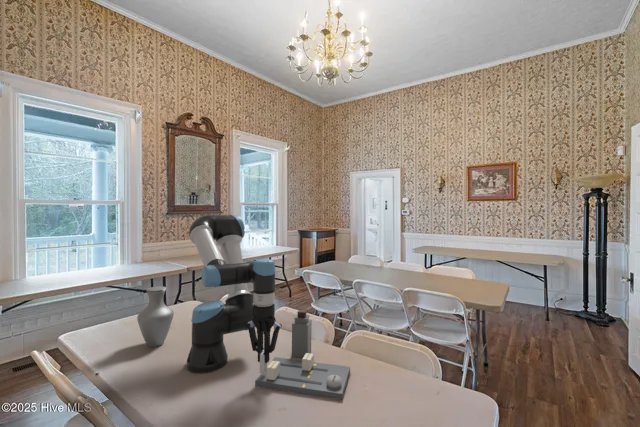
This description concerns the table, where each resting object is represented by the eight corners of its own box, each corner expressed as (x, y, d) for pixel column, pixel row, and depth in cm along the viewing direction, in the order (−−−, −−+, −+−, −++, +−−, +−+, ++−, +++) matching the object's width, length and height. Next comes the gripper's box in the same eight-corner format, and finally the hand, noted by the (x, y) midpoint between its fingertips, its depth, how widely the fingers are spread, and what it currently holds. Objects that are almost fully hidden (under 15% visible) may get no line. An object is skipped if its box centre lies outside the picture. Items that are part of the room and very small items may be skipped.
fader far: (302, 370, 112) (302, 358, 112) (305, 363, 117) (306, 352, 117) (309, 371, 111) (310, 359, 111) (313, 364, 116) (313, 353, 116)
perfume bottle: (307, 358, 126) (308, 314, 126) (291, 356, 128) (292, 312, 128) (311, 351, 133) (311, 309, 133) (296, 349, 134) (296, 308, 134)
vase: (129, 347, 134) (129, 290, 134) (157, 335, 147) (158, 283, 147) (153, 353, 129) (153, 293, 129) (180, 340, 142) (181, 286, 142)
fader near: (266, 379, 105) (266, 366, 105) (272, 371, 110) (272, 360, 110) (274, 380, 105) (274, 368, 105) (280, 372, 110) (280, 361, 110)
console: (255, 386, 105) (255, 374, 105) (275, 362, 122) (275, 351, 122) (342, 400, 98) (342, 387, 98) (350, 372, 115) (350, 361, 115)
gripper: (242, 305, 106) (241, 374, 106) (277, 308, 103) (276, 379, 103) (252, 299, 114) (251, 364, 113) (285, 302, 111) (284, 368, 110)
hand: (263, 371), depth 108 cm, fingers closed
